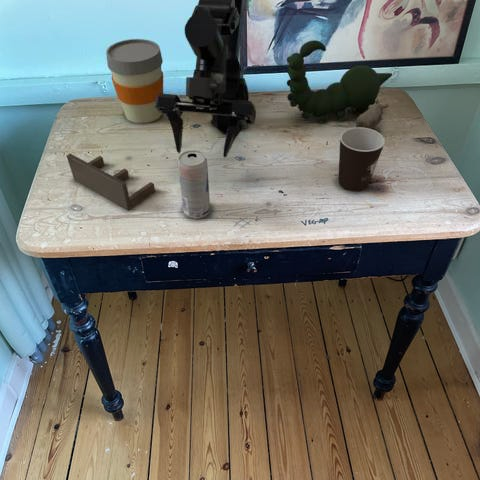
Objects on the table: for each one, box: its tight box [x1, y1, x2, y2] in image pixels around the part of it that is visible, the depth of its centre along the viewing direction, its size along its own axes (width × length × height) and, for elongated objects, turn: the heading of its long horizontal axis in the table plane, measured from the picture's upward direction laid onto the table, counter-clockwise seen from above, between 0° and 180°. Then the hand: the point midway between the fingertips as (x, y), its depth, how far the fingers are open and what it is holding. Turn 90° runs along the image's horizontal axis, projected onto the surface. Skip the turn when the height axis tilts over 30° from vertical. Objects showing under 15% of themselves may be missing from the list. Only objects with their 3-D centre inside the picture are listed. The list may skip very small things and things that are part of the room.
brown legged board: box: [66, 153, 156, 211], centre depth 101 cm, size 8×17×6 cm, turn 52°
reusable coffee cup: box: [105, 38, 164, 124], centre depth 116 cm, size 12×12×15 cm
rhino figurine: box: [355, 99, 389, 131], centre depth 114 cm, size 4×14×6 cm, turn 145°
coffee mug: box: [337, 127, 386, 193], centre depth 100 cm, size 12×9×10 cm
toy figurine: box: [286, 40, 393, 123], centre depth 114 cm, size 9×19×25 cm
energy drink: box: [177, 149, 211, 220], centre depth 93 cm, size 5×5×12 cm
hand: (201, 154), depth 95 cm, fingers open, 9 cm apart
